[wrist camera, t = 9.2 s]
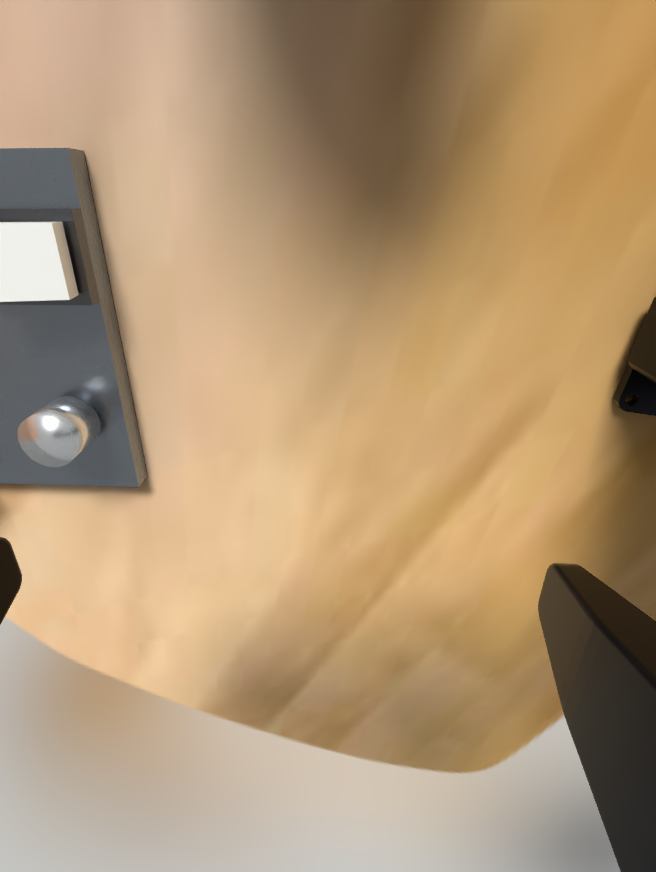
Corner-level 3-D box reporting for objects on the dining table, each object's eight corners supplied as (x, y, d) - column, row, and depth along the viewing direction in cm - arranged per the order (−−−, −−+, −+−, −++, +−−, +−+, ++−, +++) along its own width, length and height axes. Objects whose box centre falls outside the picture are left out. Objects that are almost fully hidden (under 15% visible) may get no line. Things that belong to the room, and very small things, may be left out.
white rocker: (62, 221, 16) (51, 222, 15) (78, 294, 17) (69, 299, 16) (-42, 222, 16) (-59, 223, 15) (-19, 297, 17) (-34, 302, 16)
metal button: (94, 396, 19) (67, 416, 18) (105, 444, 20) (81, 468, 19) (42, 395, 20) (10, 414, 18) (55, 443, 20) (26, 466, 19)
